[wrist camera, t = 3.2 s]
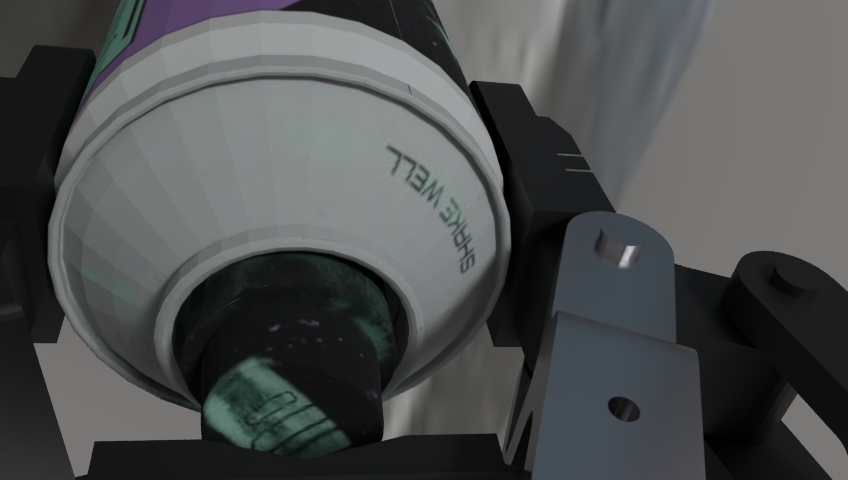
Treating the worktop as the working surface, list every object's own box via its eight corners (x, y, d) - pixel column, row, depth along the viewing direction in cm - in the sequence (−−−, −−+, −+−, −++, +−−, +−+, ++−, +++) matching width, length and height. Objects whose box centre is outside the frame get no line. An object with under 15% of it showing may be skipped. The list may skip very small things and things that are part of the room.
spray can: (336, 2, 25) (442, 613, 10) (160, -60, 23) (-58, 579, 8) (401, -175, 22) (697, 288, 7) (207, -262, 21) (10, 109, 5)
